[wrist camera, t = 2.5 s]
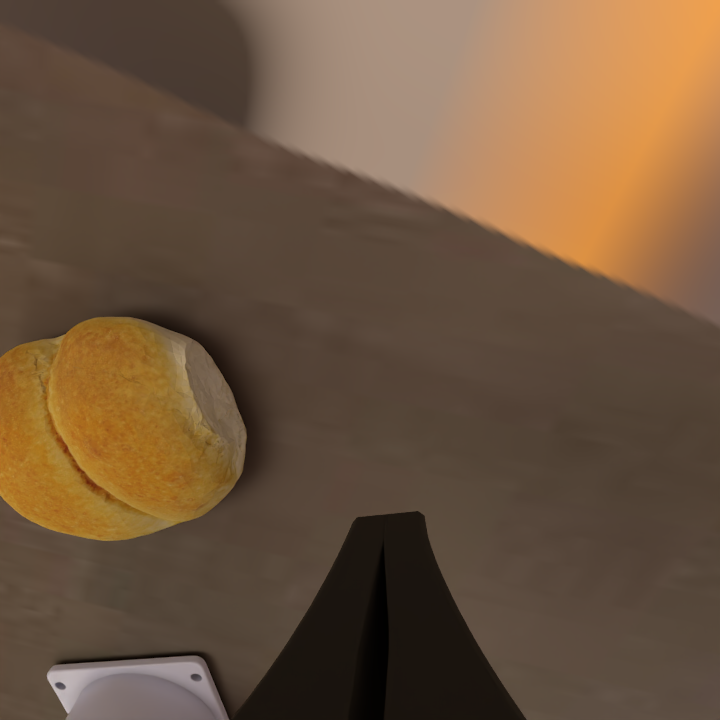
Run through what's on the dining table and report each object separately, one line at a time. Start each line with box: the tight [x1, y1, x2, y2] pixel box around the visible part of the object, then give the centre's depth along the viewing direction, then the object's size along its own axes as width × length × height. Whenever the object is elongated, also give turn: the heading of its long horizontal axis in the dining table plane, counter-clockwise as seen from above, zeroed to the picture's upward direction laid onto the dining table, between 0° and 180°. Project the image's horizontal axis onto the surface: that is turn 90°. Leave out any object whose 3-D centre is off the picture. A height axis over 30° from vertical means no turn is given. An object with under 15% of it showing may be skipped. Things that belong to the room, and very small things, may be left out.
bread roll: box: [0, 317, 247, 541], centre depth 18 cm, size 8×9×4 cm
